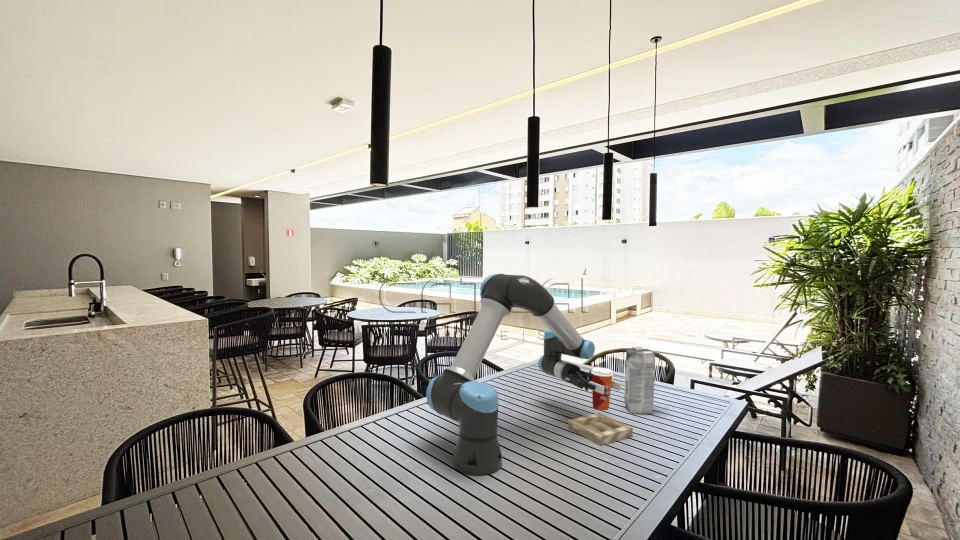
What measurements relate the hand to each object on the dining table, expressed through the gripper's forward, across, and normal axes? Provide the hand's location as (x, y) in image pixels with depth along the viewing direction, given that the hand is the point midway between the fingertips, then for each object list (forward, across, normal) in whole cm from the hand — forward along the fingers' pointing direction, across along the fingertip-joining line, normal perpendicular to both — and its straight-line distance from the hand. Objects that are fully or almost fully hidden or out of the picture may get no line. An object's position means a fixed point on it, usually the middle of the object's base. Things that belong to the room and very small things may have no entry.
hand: (611, 388), depth 145 cm
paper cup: (-5, 0, -9) cm, 10 cm away
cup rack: (-5, 0, -18) cm, 18 cm away
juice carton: (-13, -31, -18) cm, 38 cm away
